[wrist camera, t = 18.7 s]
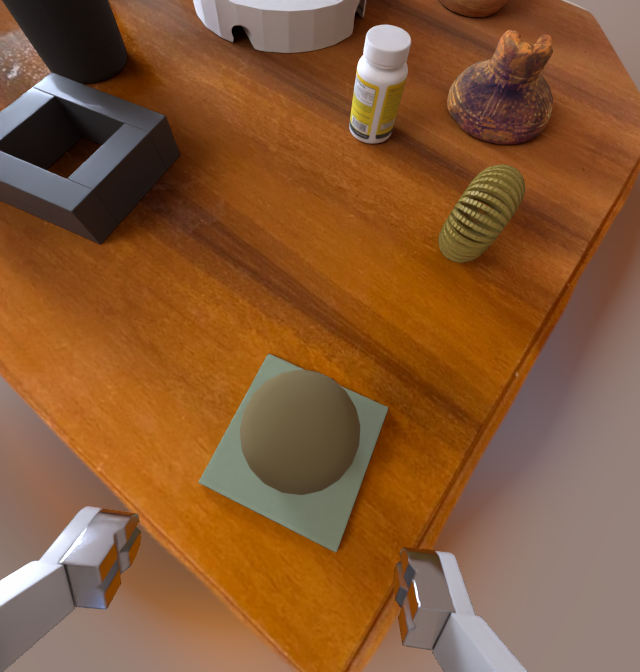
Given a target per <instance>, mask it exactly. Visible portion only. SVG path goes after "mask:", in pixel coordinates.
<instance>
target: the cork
mask: <svg viewBox="0 0 640 672" xmlns="http://www.w3.org/2000/svg"><path fill="white" fill-rule="evenodd" d="M240 439H241V448H242V452H243V454H244V457H245V459H246V461H247V463H248V465H249V468H250V469H251V470H252V471H253V473H254V474H255V475H256V476H257V477H258V478H259V479H260V480H261V481H262V482H263V483H264V484H266V485H268V486H270V487H272V488H274V489H276V490H278V491H280V492H282V493H288V494H296V495H306V494H310V493H314V492H319V491H322V490H324V489H326V488H327V487H329V486H330V485H332V484H333V483H335V482H337V481H338V480H340V478H341V477H342V476H343V475H344V473H345V472H346V471H347V470H348V468H349V467H350V466H351V465H352V463H353V460H354V458H355V455H356V452H357V450H358V447H359V441H360V422H359V418H358V414H357V410H356V407H355V405H354V403H353V402H352V400H351V398H350V397H349V395H348V393H347V392H346V390H344V389H343V388H342V387H341V386H340V385H339V384H338V383H337V382H335V381H334V380H333V379H332V378H329V377H327V376H325V375H323V374H321V373H318V372H315V371H307V370H294V371H289V372H283V373H281V374H279V375H277V376H275V377H273V378H271V379H269V380H267V381H266V382H265V383H264V384H263V385H262V386H261V387H260V388H259V389H258V390H257V391H256V392H255V393H254V394H253V395H252V397H251V399H250V400H249V402H248V404H247V406H246V408H245V410H244V412H243V416H242V421H241V426H240Z"/></svg>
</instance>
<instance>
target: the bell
mask: <svg viewBox="0 0 640 672" xmlns="http://www.w3.org/2000/svg"><path fill="white" fill-rule="evenodd" d="M520 37H521V35H520V33H518V32H517V31H515V30H508V31H507V32H506V33H504V34H503V35H502V37H501V39H500V41H499V43H498V46H497V49H496V51H495V53H494V55H493V57H492V58H491V59H490V60H484V61H480V62H477V63H475V64H473V65H471V66H469V67H468V68H467V69H465V71H463V72H462V73H461V74H460V75H459V76H458V77H457V78H456V80H455V81H454V83H453V84H452V86H451V88H450V90H449V93H448V99H447V108H448V111H449V114H450V115H451V116H452V117H453V118H454V119H455V120H456V122H458V124H459V125H460V127H461V128H462V130H463V131H465V132H466V133H468V134H469V135H471V136H473V137H475V138H477V139H480V140H483V141H486V142H491V143H495V144H518V143H523V142H528V141H530V140H532V139H534V138H535V137H537V136H538V135H540V134H541V133H542V131H543V130H544V129H545V127H546V125H547V123H548V121H549V119H550V116H551V110H552V104H553V97H552V94H551V90H550V87H549V85H548V83H547V82H546V80H545V79H544V78H543V77H542V76H541V74H542V70H543V69H544V67H545V65H546V63H547V62H548V60H549V58H550V57H551V55H552V53H553V49H552V45H553V40H552V37H551V36H550V35H542V36H540V37H539V39H538V41H537V43H536V44H534V45H531V44H529V43H525V42H522V40H521V39H520ZM518 53H519V54H518ZM519 57H520V58H519Z"/></svg>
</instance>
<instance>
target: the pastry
mask: <svg viewBox="0 0 640 672" xmlns="http://www.w3.org/2000/svg"><path fill="white" fill-rule="evenodd" d="M439 1H440V2H441V3H442V4H443V5H444V6H445V7H447V8H448V9H449V10H451V11H453V12H456V13H458V14H461V15H465V16H469V17H486V16H490V15H492V14H494V13H496V12H497V11H498V10H499V9H501V8H502V7H503V6H504V5H505V4H506V3H507V2H508V0H439Z"/></svg>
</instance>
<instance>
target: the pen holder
mask: <svg viewBox="0 0 640 672" xmlns="http://www.w3.org/2000/svg"><path fill="white" fill-rule="evenodd" d="M2 1H3V2H4V4H5V5H6V7H7V8H8V10H9V11H10V13H11V14H12V16H13V17H14V19H15V20H16V22H17V23H18V25H19V26H20V28H21V29H22V31H23V32H24V34H25V35H26V37H27V38H28V40H29V41H30V42H31V44H32V45H33V47H34V48H35V50H36V51H37V53H38V54H39V56H40V57H41V59H42V60H43V61H44V63H45V64H46V66H47V67H48V68H49V70H50V71H51V72H52V73H55V74H57V75H60V76H62V77H65V78H68V79H70V80H73V81H76V82H78V83H92V82H98V81H102V80H105V79H108V78H110V77H112V76H114V75H115V74H117V73H118V72H119V71H120V70H121V69H122V68H123V67H124V65H125V63H126V59H127V51H126V48H125V45H124V42H123V40H122V37H121V34H120V31H119V29H118V26H117V23H116V20H115V18H114V15H113V12H112V10H111V7H110V4H109V2H108V0H2Z"/></svg>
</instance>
